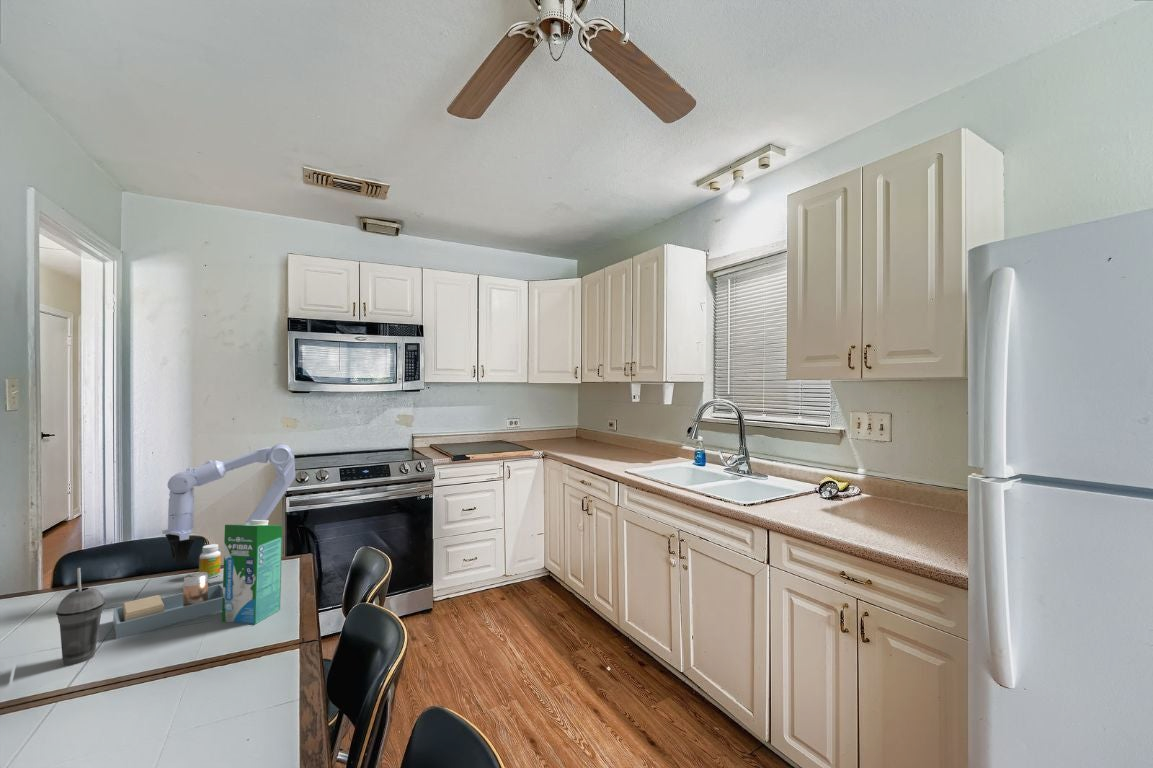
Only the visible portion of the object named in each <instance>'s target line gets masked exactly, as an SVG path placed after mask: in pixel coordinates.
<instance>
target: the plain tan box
mask: <svg viewBox="0 0 1153 768" xmlns="http://www.w3.org/2000/svg"><path fill="white" fill-rule="evenodd" d="M161 598H162V597H161V595H159V594H156V595H152V596H148V597H144V598H139V599H136V600H131V601H125V602H124V603H123V604H122V607H123V609H122V622H125V621H129V620H133V619H137V618H141V617H145V616H149V615H153V614H157V613H161V612H164V604H163V602H162V600H161Z"/></svg>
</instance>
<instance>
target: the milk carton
mask: <svg viewBox="0 0 1153 768" xmlns="http://www.w3.org/2000/svg"><path fill="white" fill-rule="evenodd" d="M223 538H224V541H223V542H224V543H223V573H222V574H223V576H222V577H223V578H222V582H223V601H222V611H221V622H225V623H226V622H227V623H243V624H244V623H245V624H247V625H248V626H255V625H257V624H258V623H260V622H262V621H264V620H266V618H268V617H270V616H272V615H273V614H275V613H276V612H278V611H280V610H281V594H282V593H281V591H282V589H281V588H282V585H281V584H282V551H283V550H282V549H283V547H282V546H283V525H282V524H281V525H280V524H269V520H268V519H267V520H252V521H251V524H245V523H244V524H243V523H241V524H236V523H235V524H225V525H224V537H223Z"/></svg>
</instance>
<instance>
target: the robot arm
mask: <svg viewBox="0 0 1153 768" xmlns="http://www.w3.org/2000/svg"><path fill="white" fill-rule="evenodd" d="M268 462H269V463H270V464H271V465H272V466H273V467H274V470H275V473H276V475H277V476H276V477H275V479H274V481H273V482H272V483H271V486H270V487H269V488H268V490H267V491H266V492H265V494H264V495H263V497H262V498H261V499H260V501H259V503H258V504H257V506H256V507H255V509H254V510H253V511H252V513H251V514H250V516H249V517H248V518H247V519H246V521H245V523H244V524H251V521H252V520H268V518H269V517H270V515H271V514H272V512H273V511H274V509H276V507H277V505H278V503H280V500H281V499H282V498H283V497H284V495H285V493H286V492H287V490H288V489H289V487H290V486H291V484H292V483H293V482H294V480H295V478H296V467H295V466H296V465H295V455H294V452H293V450H292V449H291V447H290V446H289V445H288V444H285V443H276V444H274V445H273V446H272V445H270V446H266V447H262V448H261V447H260V448H258V449H255V450H251V451H249V452H247V453H244V454H241V455H239V456H237V457H233V458H231V459H228V460H226V461H219V460H217V459H216V460H212V459H209V460H207V461H206V460H205V463H204V464H200V465H198V466H195V467H190V466H189V467H187V468H186V469H185V470H186V471H185V470H184V471H180V472H177V473H175V474H174V475H173V476H171V477H170V478H169V479H168V481H167V489H168V490H169V493H168V494H169V498H168V506H167V507H168V511H167V512H168V513H167V529H163V530H161V531H162V533H161V534H163V535H165V537H166V539H167V540H168V544H169V547H170V552H171V557H172V558H173V559H175V562H176V565H181V564H186V563H187V562H188V559H189V555H190V551H191V549H192V547H193V544H194V543H195V541H196V537H195V536H194V537H193V536H192V537H190V534H191V533H192V532H194V530H195V526H194V516H195V515H194V514H195V512H194V511H195V510H194V508H195V495H194V490H195V489H194V487H201V486H204V485H206V484H208V483H211V482H214V481H217V480H220V479H223V478H225V476H226V474H227V473H228V472H230V471H233V470H235V469H239V468H242V467H245V466H248V465H251V464H254V463H262V464H267V463H268ZM221 584H222V585H223V581H222V582H221Z"/></svg>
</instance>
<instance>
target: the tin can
mask: <svg viewBox="0 0 1153 768" xmlns="http://www.w3.org/2000/svg"><path fill="white" fill-rule="evenodd" d="M208 587H209V579H208V573H207V572H199V571H198V572H194V573H191V574H187V575H185V576H184V577H183V591H182V593H183V607H185V606H189V605H193V604H197V603H201V602H205V601H208Z"/></svg>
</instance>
